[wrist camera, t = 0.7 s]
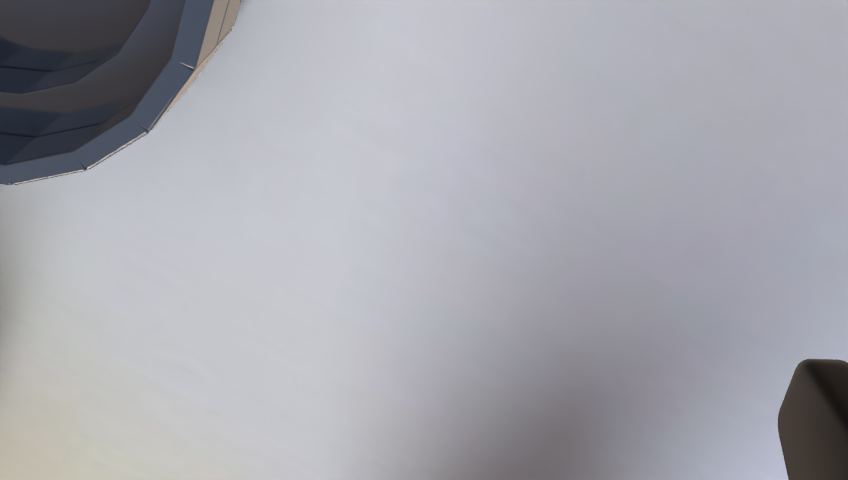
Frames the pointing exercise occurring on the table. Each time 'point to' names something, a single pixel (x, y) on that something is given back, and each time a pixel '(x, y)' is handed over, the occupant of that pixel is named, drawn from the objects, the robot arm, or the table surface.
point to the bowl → (95, 76)
